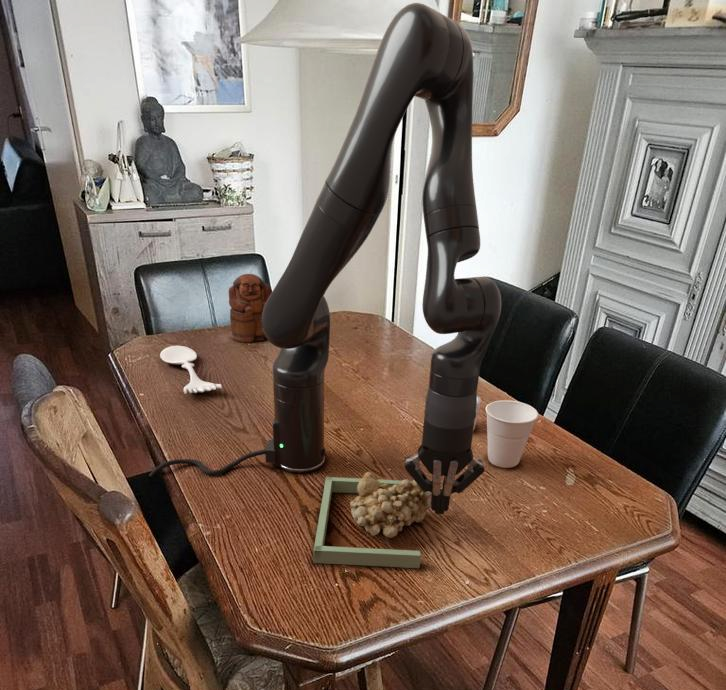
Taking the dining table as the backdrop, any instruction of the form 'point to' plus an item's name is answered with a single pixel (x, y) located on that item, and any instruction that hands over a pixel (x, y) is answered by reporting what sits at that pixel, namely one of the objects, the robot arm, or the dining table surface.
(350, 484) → the frame
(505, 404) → the cup
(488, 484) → the dining table surface
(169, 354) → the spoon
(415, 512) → the mineral formation
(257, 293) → the wooden figurine
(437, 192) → the robot arm
